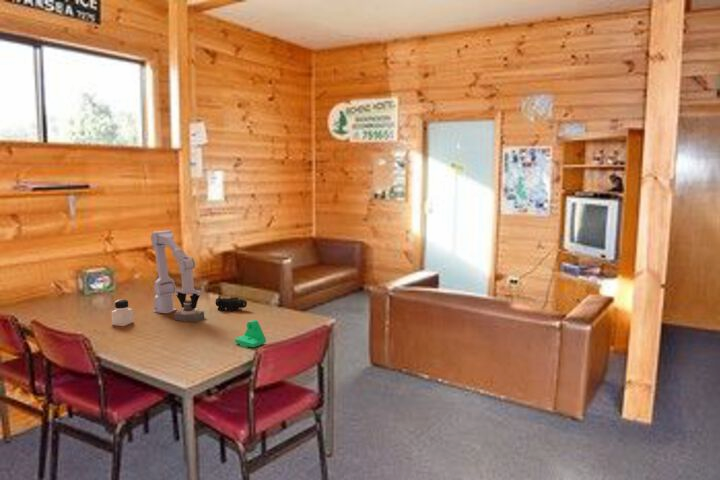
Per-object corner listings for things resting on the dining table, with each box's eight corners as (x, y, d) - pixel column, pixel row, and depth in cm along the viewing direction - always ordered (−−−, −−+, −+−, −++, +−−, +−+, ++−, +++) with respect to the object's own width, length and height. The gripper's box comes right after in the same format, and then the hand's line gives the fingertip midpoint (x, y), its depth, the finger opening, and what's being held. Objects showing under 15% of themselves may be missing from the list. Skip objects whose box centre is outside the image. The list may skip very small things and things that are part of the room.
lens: (182, 313, 264) (181, 301, 263) (188, 311, 268) (188, 299, 267) (188, 314, 262) (188, 302, 261) (195, 312, 266) (194, 300, 265)
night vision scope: (246, 315, 281) (238, 307, 273) (217, 313, 286) (209, 305, 278) (250, 302, 285) (242, 294, 277) (222, 300, 290) (213, 292, 282)
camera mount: (234, 344, 229) (233, 322, 228) (247, 339, 235) (246, 317, 234) (253, 349, 222) (252, 326, 221) (265, 344, 229) (265, 322, 227)
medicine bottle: (133, 322, 261) (132, 299, 259) (123, 326, 255) (121, 302, 253) (122, 320, 264) (121, 298, 262) (111, 325, 257) (110, 301, 255)
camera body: (174, 320, 264) (174, 310, 264) (184, 315, 272) (184, 306, 271) (194, 322, 261) (194, 312, 260) (204, 317, 268) (203, 308, 267)
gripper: (170, 282, 262) (172, 308, 264) (194, 284, 257) (196, 311, 259) (179, 279, 269) (181, 304, 271) (203, 281, 264) (204, 307, 266)
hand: (189, 307), depth 265 cm, fingers open, 6 cm apart
